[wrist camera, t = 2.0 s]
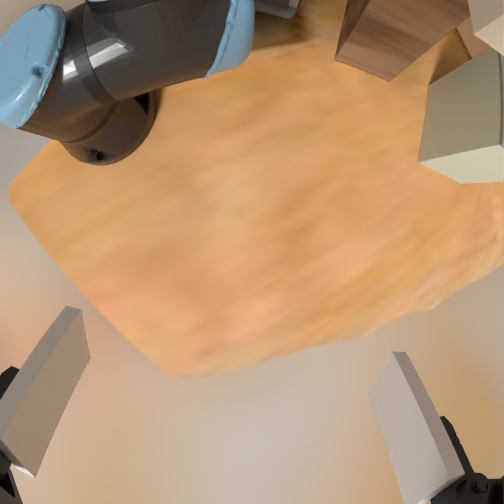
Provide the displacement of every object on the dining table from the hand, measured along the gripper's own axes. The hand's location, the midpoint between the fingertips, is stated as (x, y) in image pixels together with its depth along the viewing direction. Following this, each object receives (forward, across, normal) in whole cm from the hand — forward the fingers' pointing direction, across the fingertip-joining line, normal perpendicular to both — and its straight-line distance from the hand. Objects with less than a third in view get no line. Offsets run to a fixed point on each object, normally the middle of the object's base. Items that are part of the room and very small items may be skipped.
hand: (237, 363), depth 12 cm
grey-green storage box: (+34, +29, +15) cm, 47 cm away
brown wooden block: (+39, +15, +30) cm, 51 cm away
